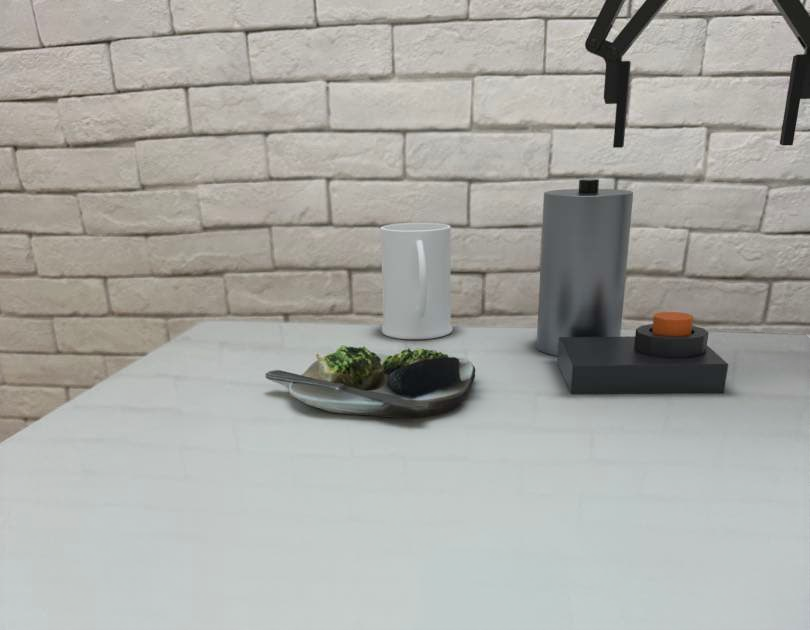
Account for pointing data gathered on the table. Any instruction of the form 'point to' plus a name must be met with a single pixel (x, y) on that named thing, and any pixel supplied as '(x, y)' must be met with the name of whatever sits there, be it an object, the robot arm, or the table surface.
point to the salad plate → (382, 382)
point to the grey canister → (582, 263)
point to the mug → (416, 280)
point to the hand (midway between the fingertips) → (700, 146)
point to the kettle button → (672, 324)
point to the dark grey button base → (642, 363)
